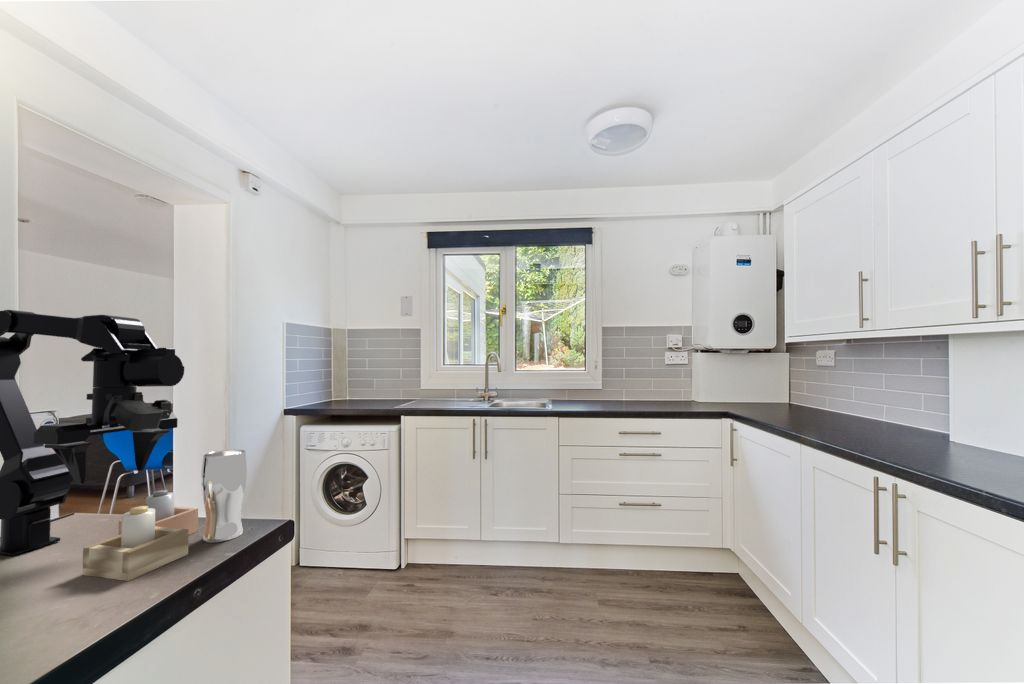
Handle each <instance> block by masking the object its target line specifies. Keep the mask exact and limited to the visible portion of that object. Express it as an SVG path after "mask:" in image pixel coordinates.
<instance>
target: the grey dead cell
mask: <svg viewBox="0 0 1024 684" xmlns="http://www.w3.org/2000/svg"><path fill="white" fill-rule="evenodd" d="M145 506H148V508H153V509H155V522H156V521H159V520H162V519H165V518H168V517H171V516H174V507H175V492H172V491H170V492H169V489H161V490H156V491H152V495H149V496H146V497H145Z"/></svg>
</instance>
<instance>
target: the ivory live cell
mask: <svg viewBox="0 0 1024 684" xmlns="http://www.w3.org/2000/svg"><path fill="white" fill-rule="evenodd" d="M121 520H122V532H121V547H123V548H134V547H137V546H140V545H142V544H145V543H147V542H150V541H153V540H155V509H153V508H148V506H146V505H139V506H135V507H134V506H133V507H132V508H130V509H129V511H127V512H125V513H123V514H122V515H121Z"/></svg>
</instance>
